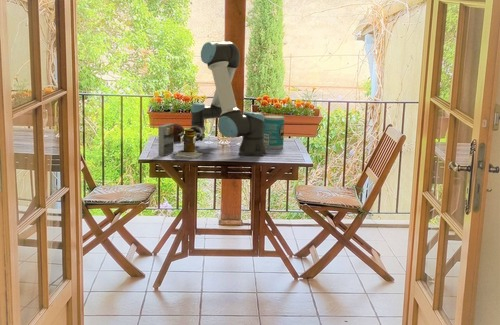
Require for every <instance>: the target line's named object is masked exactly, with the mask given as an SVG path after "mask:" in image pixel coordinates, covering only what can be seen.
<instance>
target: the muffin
mask: <svg viewBox="0 0 500 325" xmlns="http://www.w3.org/2000/svg"><path fill="white" fill-rule="evenodd" d="M173 124H174V142H175V143H178V142H179V143H181V140H178V135H179V134H181V132H183V133H184V134H185V129H186V128H184V126H182V125H181V124H179V123H173Z"/></svg>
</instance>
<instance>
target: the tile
mask: <svg viewBox="0 0 500 325" xmlns="http://www.w3.org/2000/svg"><path fill="white" fill-rule="evenodd" d="M202 155H203V152H192V153H183V152H178V153H177V154H175V157H183V158H192V159H196V158H197V157H200V156H202Z"/></svg>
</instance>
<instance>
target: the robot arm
mask: <svg viewBox="0 0 500 325" xmlns="http://www.w3.org/2000/svg"><path fill="white" fill-rule="evenodd" d="M240 53H241V52H240V49H239V48H238V46H237V45H236V44H235V43H234V42H232V41H207V42H204V44H203V45H202V47H201V50H200V59H201V61H202V62H203V64H205V65H207V68H208V69H209V70H210V71H211V73H212V77H213V81H214V85H215V90H214V94H213V98H212V100H211V104H210V105H205V103H204V102H193V103H192V104H191V122H190V124H191V125H190V128H189V129H193V130H194V134H195V137H194V138H193V143H195V144H196V142H199V141H200V142H202V141H203V140H204V139H205V138H206V137H205V136H206V135H205V131H206V127H205V120H210V119H218V122H217V128H218V131H219V132H220V133H221V135H222V136H224V137H225V138H239V137H242V139H241V143H240V145H239V149H238V153H239V155H241V156H249V157H261V156H265V155H267V148H265V144H264V141H263V135H264V116H265V115H264V114H263V113H262V112H255V111H243V112H242V111H241V109H240V108H238V105H237V101H236V98H235V93H234V90H233V86H232V83H233V82H232V81H233V78H234V75H235V72H236V70H237V69H238V68H239V66H240V62H241V54H240ZM184 134H185V132H184V133H183V132H181V134H179V135H178V140H181V142H180V143H184Z"/></svg>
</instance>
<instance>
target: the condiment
mask: <svg viewBox="0 0 500 325" xmlns="http://www.w3.org/2000/svg"><path fill="white" fill-rule="evenodd" d="M184 129H185V131H184V141H183V150H178V153H182V152H183V153H192V152H195V153H198V150H196V146H195V145H196V142H195V143H193V138H194V137H195V134H194V130H193V129H190V128H187V129H186V128H184Z"/></svg>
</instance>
